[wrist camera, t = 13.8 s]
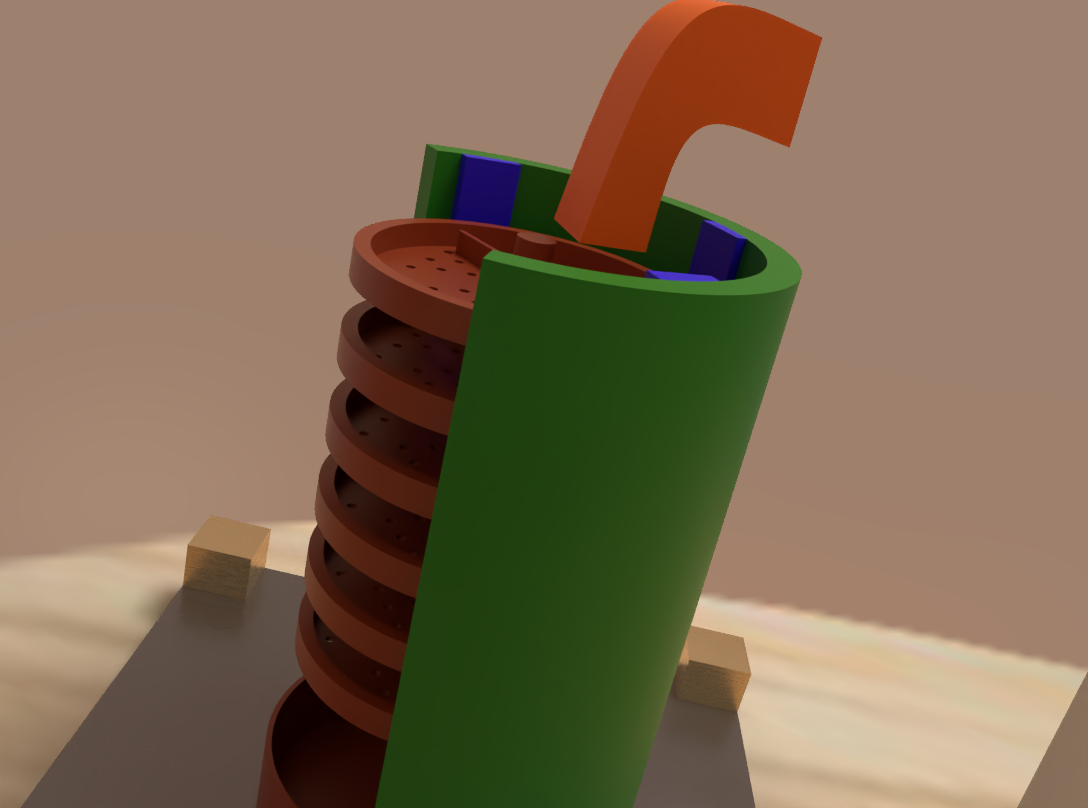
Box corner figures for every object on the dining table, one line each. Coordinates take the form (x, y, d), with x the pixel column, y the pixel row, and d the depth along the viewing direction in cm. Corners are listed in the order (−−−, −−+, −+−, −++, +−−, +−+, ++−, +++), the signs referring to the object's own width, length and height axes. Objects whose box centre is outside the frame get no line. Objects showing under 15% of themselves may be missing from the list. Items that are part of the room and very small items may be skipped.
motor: (219, 700, 28) (329, -93, 21) (512, 669, 32) (688, 1, 25) (309, 1044, 20) (542, -63, 13) (685, 942, 24) (1019, 70, 17)
